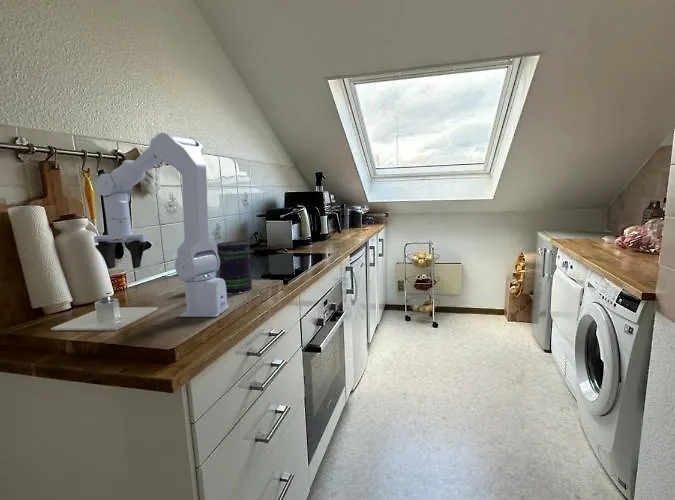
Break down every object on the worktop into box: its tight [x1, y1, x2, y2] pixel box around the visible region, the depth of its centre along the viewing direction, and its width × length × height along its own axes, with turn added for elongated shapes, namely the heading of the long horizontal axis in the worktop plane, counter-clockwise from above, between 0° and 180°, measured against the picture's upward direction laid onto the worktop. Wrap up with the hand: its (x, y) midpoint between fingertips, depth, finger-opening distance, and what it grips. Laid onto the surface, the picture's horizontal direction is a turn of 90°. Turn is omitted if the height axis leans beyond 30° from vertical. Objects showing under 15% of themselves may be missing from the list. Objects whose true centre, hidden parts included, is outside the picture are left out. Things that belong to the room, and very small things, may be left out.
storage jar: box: [216, 240, 253, 294], centre depth 116 cm, size 10×10×15 cm
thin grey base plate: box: [50, 296, 158, 332], centre depth 91 cm, size 16×16×6 cm
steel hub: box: [94, 298, 121, 320], centre depth 91 cm, size 5×5×4 cm
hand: (124, 267), depth 104 cm, fingers open, 7 cm apart
